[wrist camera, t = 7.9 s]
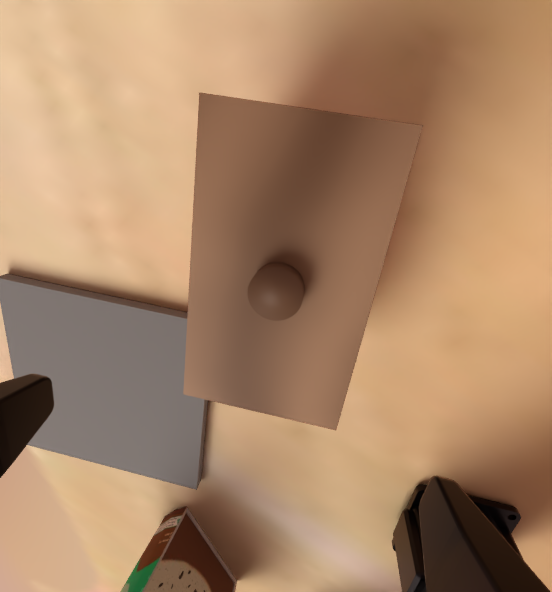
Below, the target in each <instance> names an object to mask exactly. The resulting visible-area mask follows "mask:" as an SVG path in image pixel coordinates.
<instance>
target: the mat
mask: <svg viewBox="0 0 552 592" xmlns="http://www.w3.org/2000/svg"><path fill="white" fill-rule="evenodd" d="M0 303H1V308H2V314H3V319H4V325H5V331H6V336H7V342H8V347H9V353H10V358H11V364H12V370H13V375H14V379H15V378H18V377H21V376H25V375H28V374H39V375H43V376H47V377H49V378H50V379H51V381H52V387H53V396H54V408H53V411H52V413H51V414H50V416H49V417H48V418H47V420H46V421H45V422H44V424H43V425H42V426H41V427H40V429H39V430H38V431H37V433H36V434H35V435H34V436H33V438H32V439H31V440H30V442H29V443H28V444H27V445H30V446H34V447H37V448H41V449H45V450H49V451H52V452H56V453H60V454H64V455H68V456H71V457H75V458H79V459H83V460H87V461H90V462H94V463H98V464H102V465H105V466H109V467H113V468H117V469H121V470H124V471H128V472H132V473H136V474H139V475H143V476H147V477H151V478H155V479H158V480H162V481H166V482H170V483H173V484H177V485H181V486H185V487H189V488H192V489H196V490H197V488H198V485H199V483H200V481H201V471H202V460H203V449H204V438H205V427H206V417H207V406H208V400H205V399H201V398H197V397H193V396H188V395H184V394H183V391H184V372H185V354H186V335H187V316H188V312H184V311H179V310H174V309H170V308H165V307H160V306H156V305H151V304H146V303H142V302H137V301H132V300H128V299H123V298H118V297H114V296H109V295H104V294H100V293H95V292H90V291H86V290H81V289H76V288H72V287H67V286H62V285H58V284H53V283H48V282H44V281H39V280H34V279H30V278H25V277H20V276H16V275H11V274H5V275H2V276H0Z"/></svg>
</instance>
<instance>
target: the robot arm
mask: <svg viewBox="0 0 552 592" xmlns="http://www.w3.org/2000/svg"><path fill="white" fill-rule="evenodd" d="M53 408H54V396H53V387H52V381H51V379H50V378H49V377H47V376H43V375H39V374H28V375H25V376H21V377H18V378H15V379H12V380H8V381H5V382H2V383H0V478H1V476H2V475H3V474H4V473H5V472H6V471H7V469H8V468H9V467H10V466H11V465H12V463H13V462H14V461H15V460H16V458H17V457H18V456H19V454H20V453H21V452H22V451H23V449H24V448H25V447H26V445H27V444H28V443H29V442H30V440H31V439H32V438H33V436H34V435H35V434H36V433H37V431H38V430H39V429H40V427H41V426H42V425H43V424H44V422H45V421H46V420H47V418H48V417H49V416H50V414H51V413H52V411H53ZM520 519H521V516H520V514H519V512H518V510H517V509H516V508H515V507H513V506H509V505H505V504H501V503H497V502H493V501H489V500H485V499H481V498H477V497H473V496H469V495H467V494H466V493H465V492H464V491H463V490H462V489H461V487H460V486H459V485H458V484H457V483H456V482H455V481H454V480H451V479H448V478H444V477H440V476H433V477H432V478H431V479H430V481H429V483H428V485H419V486H417V487H416V488H415V490H414V493H413V495H412V497H411V499H410V502H409V504H408V506H407V508H406V509H405V510H404V511H403V512H402V514H401V517H400V519H399V521H398V523H397V526H396V528H395V530H394V532H393V536H394V538H393V540H392V546H393V549H394V551H396V555H397V562H398V568H399V574H400V580H401V587H402V592H550V591H549V589H548V588H547V587H546V586H545V585H544V584H543V582H542V581H541V580H540V579H539V578H538V577H537V576H536V574H535V573H534V572H533V571H532V570H531V569H530V567H529V566H528V565H527V564H526V563H525V562H524V560H523V558H522V556H521V553H520V551H519V549H518V547H517V545H516V543H515V541H514V539H513V537H512V535H511V533H512V531H513V530H514V528H515V527H516V525H517V524H518V522H519V521H520Z"/></svg>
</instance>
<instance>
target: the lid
mask: <svg viewBox="0 0 552 592" xmlns="http://www.w3.org/2000/svg"><path fill="white" fill-rule="evenodd" d="M422 127H423V125H416V124H409V123H402V122H395V121H389V120H382V119H375V118H368V117H362V116H355V115H348V114H341V113H334V112H328V111H321V110H314V109H307V108H301V107H294V106H287V105H280V104H274V103H267V102H260V101H253V100H246V99H240V98H233V97H226V96H219V95H213V94H206V93H199V111H198V129H197V148H196V167H195V185H194V204H193V223H192V242H191V260H190V279H189V298H188V316H187V335H186V354H185V372H184V391H183V394H184V395H188V396H193V397H197V398H201V399H205V400H210V401H214V402H218V403H222V404H227V405H231V406H235V407H239V408H244V409H248V410H252V411H256V412H260V413H265V414H269V415H273V416H277V417H282V418H286V419H290V420H294V421H299V422H303V423H307V424H311V425H316V426H320V427H324V428H328V429H333V430H336V429H337V425H338V422H339V418H340V415H341V411H342V408H343V404H344V401H345V397H346V394H347V390H348V387H349V383H350V380H351V376H352V373H353V369H354V366H355V362H356V359H357V355H358V352H359V348H360V345H361V341H362V338H363V334H364V331H365V327H366V324H367V320H368V317H369V313H370V310H371V306H372V303H373V299H374V295H375V292H376V288H377V285H378V281H379V278H380V274H381V271H382V267H383V264H384V260H385V257H386V253H387V250H388V246H389V243H390V239H391V236H392V232H393V229H394V225H395V222H396V218H397V215H398V211H399V208H400V204H401V201H402V197H403V194H404V190H405V187H406V183H407V180H408V176H409V173H410V169H411V166H412V162H413V159H414V155H415V152H416V148H417V145H418V141H419V138H420V134H421V130H422Z"/></svg>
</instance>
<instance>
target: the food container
mask: <svg viewBox="0 0 552 592" xmlns="http://www.w3.org/2000/svg"><path fill="white" fill-rule="evenodd" d="M236 583H237V580H236V579H235V577H234V576H233V574H232V573H231V572H230V570H229V569H228V567H227V566H226V564H225V563H224V561H223V560H222V558H221V557H220V555H219V554H218V552H217V551H216V549H215V548H214V546H213V545H212V543H211V542H210V540H209V539H208V537H207V536H206V534H205V533H204V531H203V530H202V528H201V527H200V525H199V524H198V523H197V521H196V520H195V518H194V517H193V515H192V514H191V512H190V511H189V509H188V508H187V507H184V508H180V509H176V510H174V511H173V512H171V513H170V514H168V515H167V516H165V517H164V519H163V521H162V523H161V524H160V526H159V528H158V529H157V531H156V533H155V534H154V536H153V538H152V539H151V541H150V543H149V544H148V546H147V548H146V550H145V551H144V553H143V555H142V556H141V558H140V560H139V561H138V563H137V565H136V566H135V568H134V570H133V572H132V573H131V575H130V577H129V578H128V580H127V582H126V583H125V585H124V587H123V588H122V590H121V592H235V589H236Z"/></svg>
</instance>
